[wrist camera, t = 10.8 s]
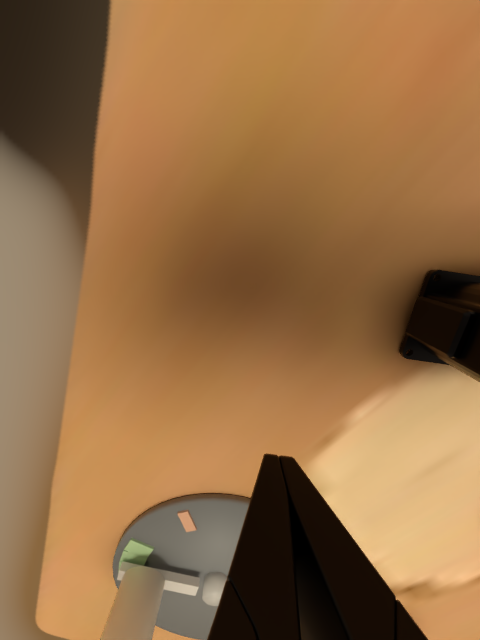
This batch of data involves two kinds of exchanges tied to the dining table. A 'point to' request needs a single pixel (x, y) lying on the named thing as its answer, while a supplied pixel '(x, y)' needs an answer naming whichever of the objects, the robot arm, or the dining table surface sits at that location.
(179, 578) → the tall cream cylinder
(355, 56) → the dining table surface
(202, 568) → the grey round platter
